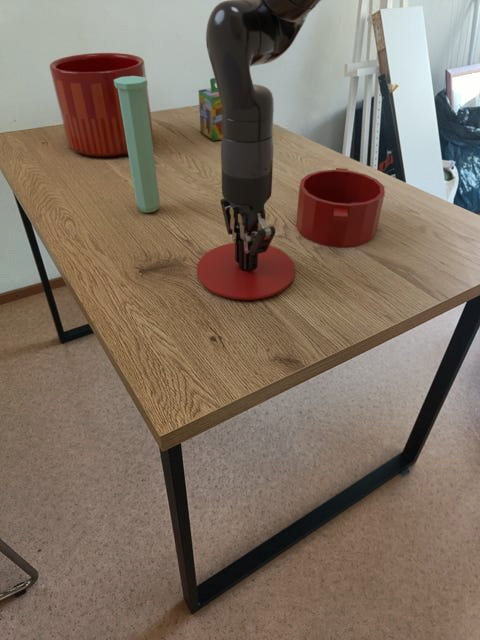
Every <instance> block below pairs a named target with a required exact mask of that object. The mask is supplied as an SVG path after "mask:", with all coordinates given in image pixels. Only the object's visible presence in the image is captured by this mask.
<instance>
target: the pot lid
mask: <svg viewBox="0 0 480 640" xmlns="http://www.w3.org/2000/svg"><path fill="white" fill-rule="evenodd" d="M253 241H254V239H253V240H251V241H250V245H252V243H253ZM196 275H197V278H198V280H199V282H200V284H202V285H203V287H204V288H206V289H207V290H208V291H210V292H212V293H214V294H216V295H218V296H221V297H224V298H227V299H233V300H242V301H243V300H245V301H248V300H249V301H251V300H259V299H266V298H270V297H273V296H274V295H277V294H279V293H281V292H282V291H284V290H286V289H287V288H288V287H290V285H291V283H293V280H294V278H295V275H296V267H295V263H294V261H293V260H292V258H291V257H290V256H289V255H288V254H287V253H286V252H284V251H283V250H281V249H279V248H277V247H275V246H272V245H269V247H268V249H267V251H266V252H263V253H260V254H258V266H257V268H256V269H255V270H252V271H249V272H247V271H246V270H245V269H244V240H243V239H241V237H240V238H239V263H237V262H236V261H235V243H234V242H231V243H226V244H222V245H219V246H216V247H214V248H213V249H210V250H209V251H207V252H206V253H205V254H203V255H202V257H200V258H199V261H198V262H197V266H196Z"/></svg>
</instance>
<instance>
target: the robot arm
mask: <svg viewBox="0 0 480 640" xmlns="http://www.w3.org/2000/svg"><path fill="white" fill-rule="evenodd" d="M321 2H322V0H224V1H221V2H219V3H218V4H217V5H216V6H215V7H214V8H213V9H212V11H211V13H210V15H209V17H208V20H207V24H206V29H205V43H206V44H205V45H206V49H207V54H208V58H209V62H210V65H211V69H212V73H213V76H214V77H213V78H215V80H216V83H215V86H216V88H218V92H219V96H220V99H221V104H222V140H221V145H220V146H221V147H220V169H221V170H220V171H221V195H222V197H223V198H221V199H220V206H221V210H222V215H223V219H224V223H225V224H224V225H225V228H226V232H227V235H229V236H231V235H232V237H231V239H232V243H235V261H236V262H237V263H239V238H240V237H241V239H243V240H244V269H245V270H246V271H247V272H249V271H252V270H255V269H256V268H257V266H258V254H260V253H263V252H266V251H267V249H268V247H269V246H271V245H270V244H271V242H272V241H273V239H274V236H275V235H276V233H277V232H276V231H277V230H276V227H275V226H274V225H272V226H269V225H268V224H267V222H266V217H267V216H266V210H265V205H266V203H267V202H268V201H269V200H270V199H271V196H272V193H273V192H272V191H273V190H272V188H273V170H274V169H273V168H274V141H273V130H274V111H275V109H274V108H275V102H274V95H273V92H272V91H271V90H270V89H269V88H268V87H267V86H265V85H261V84H256V83H254V82H253V78H252V74H251V67H255V66H260V65H265V64H269V63H273V62H274V61H275V60H277V59H278V58H280V57H281V56H282V55H284V54H285V53H286V52H287V51H288V50H289V49H290V47H291V46H292V45H293V43H294V42H295V40H296V38H297V37H298V34H299V33H300V31H301V29H302V27H303V26H304V24H305V22H306V20H307V18H308V16H309V14H310V12H311V11H312V10H314V8H316V7H317V6H318V5H319V3H321ZM253 239H254V241H253V243H252V245H250V241H251V240H253Z"/></svg>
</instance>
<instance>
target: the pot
mask: <svg viewBox="0 0 480 640" xmlns="http://www.w3.org/2000/svg"><path fill="white" fill-rule="evenodd" d="M348 169H349V168H343V167H335V169H325V170H318V171H315V172H312V173H309V174H307V175H305V176H304V177H303V178H301V179H300V183H299V188H298V201H297V211H296V221H295V226H296V229H297V231H298V232H299V234H300V235H302V236H303V237H304V238H305V239H307V240H309V241H310V242H312V243H316V244H319V245H322V246H326V247H333V248H352V247H357V246H361V245H364V244H366V243H368V242H370V241H371V240H372V239H373V238H374V237H375V235H376V233H377V230H378V226H379V223H380V222H379V221H380V217H381V213H382V208H383V203H384V199H385V195H386V192H385V185H383V184H382V183H381V182H380V181H379V180H378V179H377V178H375V177H372V176H370V175H368V174H365V173H362V172H358V171H353V170H348ZM352 202H358V203H352ZM348 203H352V204H348Z"/></svg>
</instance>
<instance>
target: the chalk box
mask: <svg viewBox="0 0 480 640" xmlns="http://www.w3.org/2000/svg"><path fill="white" fill-rule="evenodd" d="M209 82H210V83H209V85H210V88H204V89H199V90H198V103H199V104H198V105H199V106H198V107H199V108H198V109H199V124H200V133H201V134H203V135H204V136H205V137H207V138H209V140H211V141H213V142H215V141H222V104H221V99H220V96H219V92H218V88H217V86H216V80H215V77H211V78H210V79H209Z"/></svg>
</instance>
